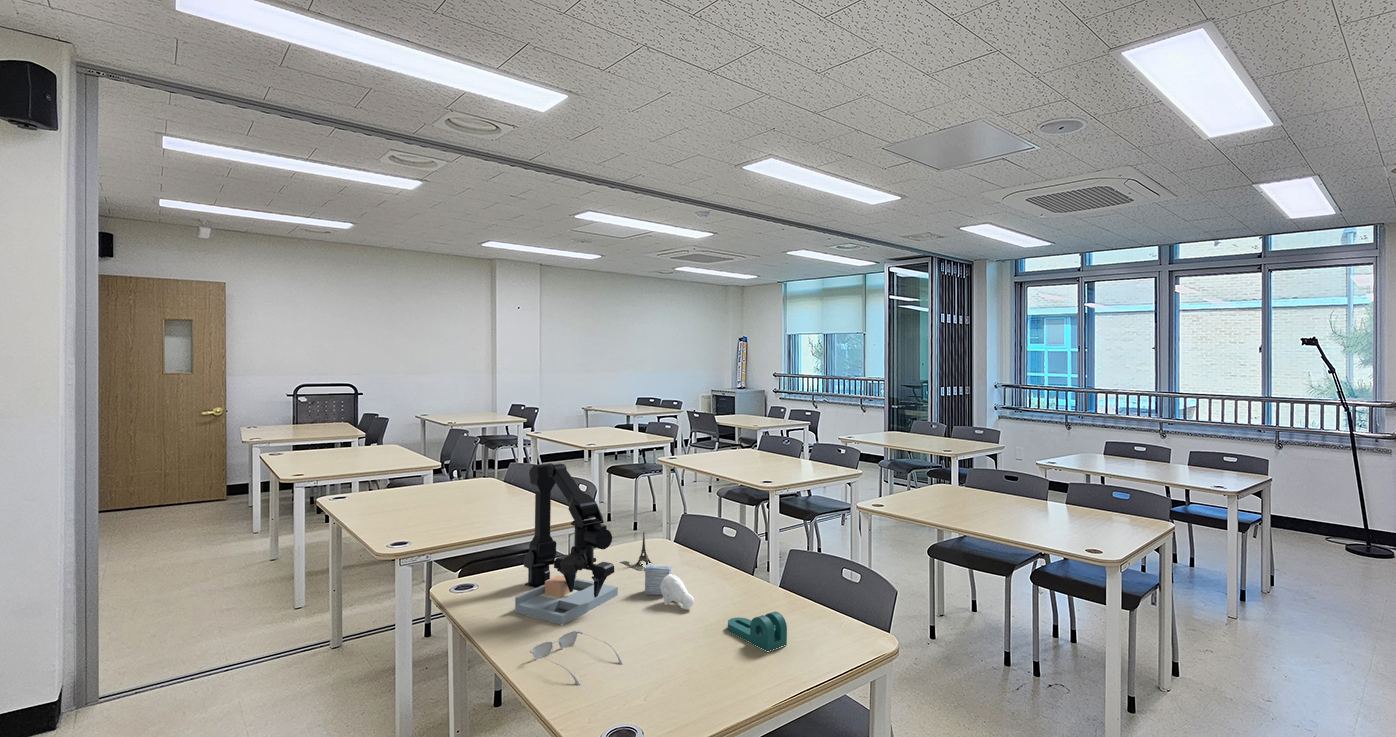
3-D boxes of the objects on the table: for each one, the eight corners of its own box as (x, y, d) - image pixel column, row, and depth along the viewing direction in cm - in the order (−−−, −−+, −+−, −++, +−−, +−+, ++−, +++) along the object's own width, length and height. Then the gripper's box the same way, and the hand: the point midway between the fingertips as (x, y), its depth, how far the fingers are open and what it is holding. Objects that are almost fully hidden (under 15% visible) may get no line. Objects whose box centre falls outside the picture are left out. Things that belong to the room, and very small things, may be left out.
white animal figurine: (674, 570, 196) (701, 583, 187) (672, 596, 196) (699, 611, 188) (659, 574, 191) (685, 588, 183) (656, 601, 192) (683, 616, 183)
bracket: (786, 646, 163) (787, 616, 163) (767, 653, 159) (768, 622, 159) (741, 623, 178) (741, 595, 178) (722, 629, 173) (723, 600, 173)
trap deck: (515, 612, 182) (515, 597, 182) (573, 585, 206) (573, 571, 206) (562, 624, 174) (562, 608, 174) (617, 595, 198) (617, 580, 198)
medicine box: (671, 591, 202) (671, 564, 202) (669, 596, 197) (669, 568, 197) (647, 590, 203) (647, 563, 203) (644, 595, 198) (644, 567, 198)
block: (544, 594, 190) (544, 581, 190) (557, 588, 196) (558, 575, 196) (560, 597, 188) (560, 584, 188) (573, 591, 193) (573, 578, 193)
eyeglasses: (578, 643, 164) (578, 628, 164) (626, 664, 152) (627, 648, 152) (528, 664, 152) (529, 647, 152) (577, 689, 140) (577, 671, 140)
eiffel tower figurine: (619, 563, 231) (619, 527, 231) (641, 558, 238) (642, 523, 238) (642, 574, 220) (642, 536, 220) (665, 568, 226) (666, 531, 226)
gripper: (541, 544, 185) (540, 597, 185) (592, 553, 176) (591, 609, 176) (566, 535, 195) (565, 586, 195) (615, 544, 186) (615, 596, 186)
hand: (583, 594), depth 188 cm, fingers open, 9 cm apart
